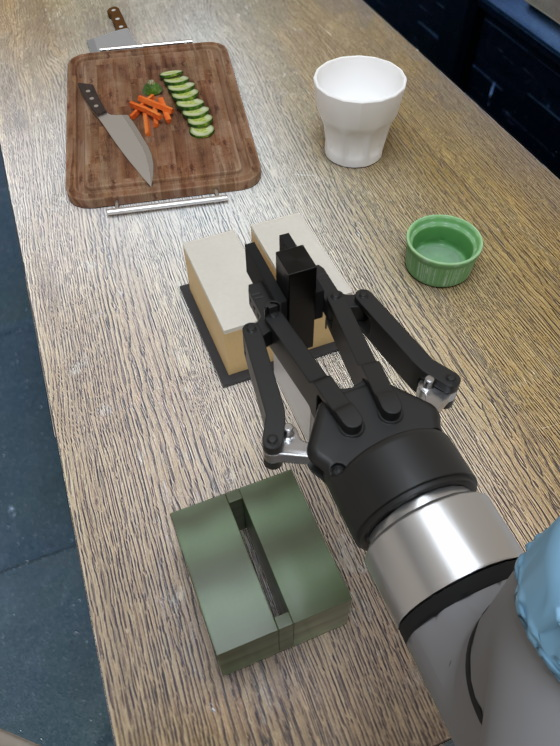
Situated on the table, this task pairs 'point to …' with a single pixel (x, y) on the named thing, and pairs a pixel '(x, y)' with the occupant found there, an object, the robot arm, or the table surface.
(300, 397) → the black-handled knife
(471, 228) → the ramekin
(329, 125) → the cup
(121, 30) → the kitchen cleaver
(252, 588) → the knife block
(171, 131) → the chopping board
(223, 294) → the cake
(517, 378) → the table surface
